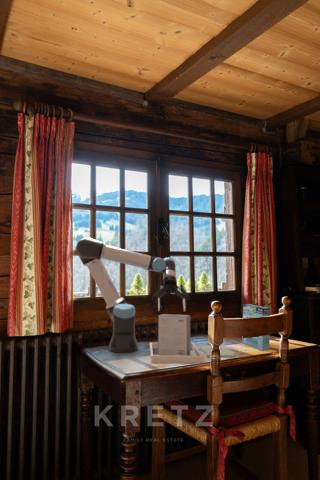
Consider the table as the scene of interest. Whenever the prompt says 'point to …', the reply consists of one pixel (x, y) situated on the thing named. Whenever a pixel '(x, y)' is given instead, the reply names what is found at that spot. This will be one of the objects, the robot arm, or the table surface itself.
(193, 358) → the frame
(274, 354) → the table surface
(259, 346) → the gum box
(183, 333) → the hard drive box
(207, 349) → the mat
